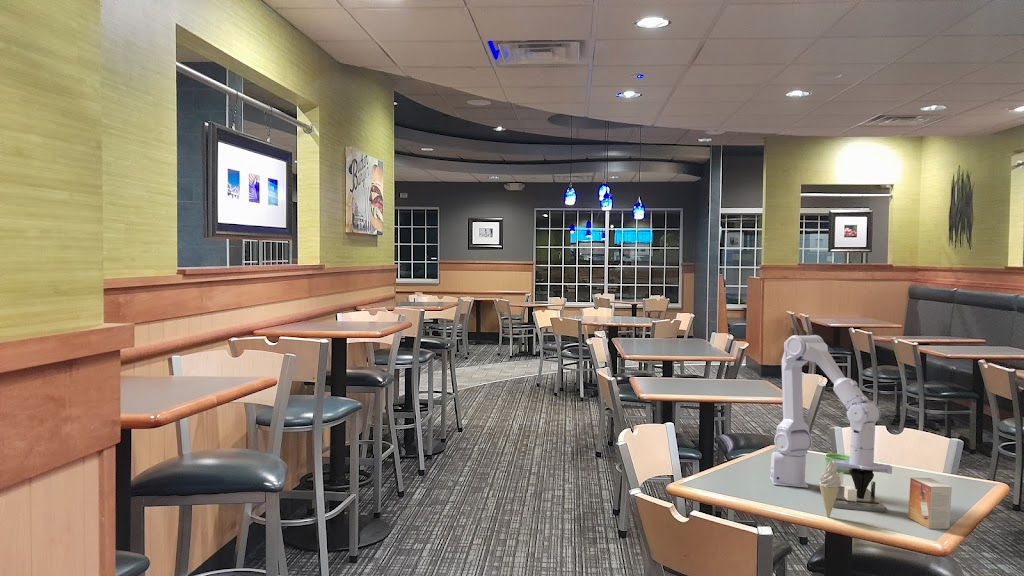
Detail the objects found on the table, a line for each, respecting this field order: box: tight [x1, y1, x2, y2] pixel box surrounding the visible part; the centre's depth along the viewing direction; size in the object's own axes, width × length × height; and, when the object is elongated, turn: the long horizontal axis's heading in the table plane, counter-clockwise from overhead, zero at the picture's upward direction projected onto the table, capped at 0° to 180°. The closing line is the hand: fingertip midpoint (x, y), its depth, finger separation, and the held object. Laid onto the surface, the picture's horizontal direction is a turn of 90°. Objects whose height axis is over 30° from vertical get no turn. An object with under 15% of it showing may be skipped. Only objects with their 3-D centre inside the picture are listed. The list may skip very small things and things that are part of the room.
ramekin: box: [824, 453, 850, 474], centre depth 229 cm, size 9×9×4 cm
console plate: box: [818, 480, 888, 513], centre depth 196 cm, size 13×18×6 cm
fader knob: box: [844, 485, 857, 501], centre depth 192 cm, size 2×4×3 cm, turn 168°
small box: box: [907, 477, 953, 530], centre depth 179 cm, size 8×6×10 cm
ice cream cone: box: [818, 458, 841, 518], centre depth 181 cm, size 5×5×15 cm
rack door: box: [837, 472, 844, 486], centre depth 203 cm, size 10×1×3 cm, turn 141°
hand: (860, 497), depth 191 cm, fingers closed
